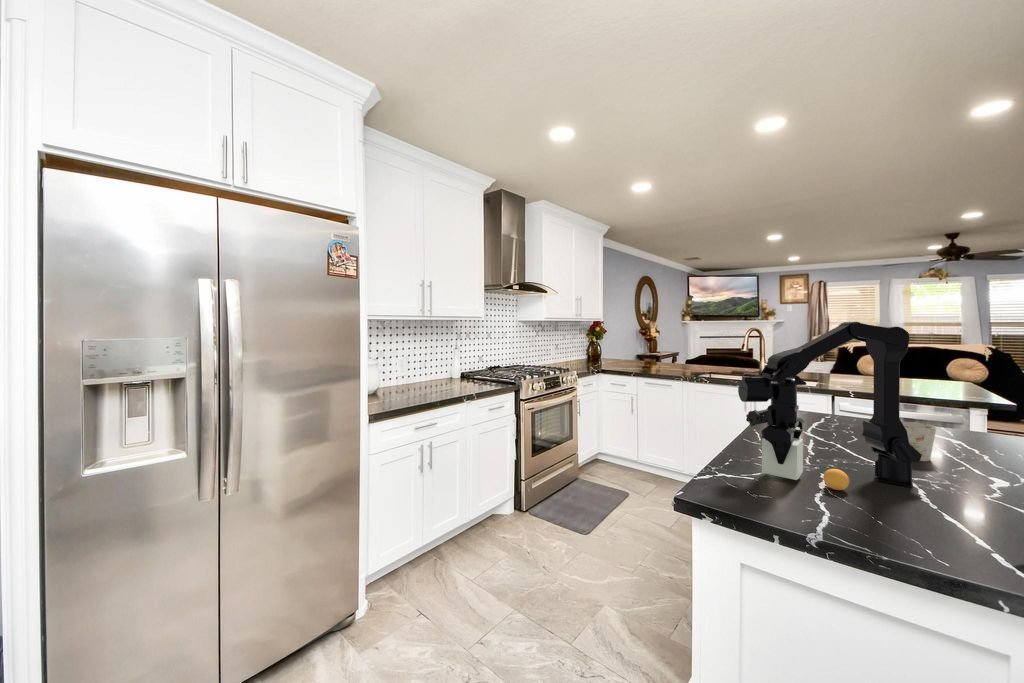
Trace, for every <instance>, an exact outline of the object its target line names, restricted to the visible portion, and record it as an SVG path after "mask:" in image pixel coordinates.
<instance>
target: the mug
mask: <svg viewBox="0 0 1024 683" xmlns="http://www.w3.org/2000/svg"><path fill="white" fill-rule="evenodd" d="M901 422H902V423H903V425H904V427H905V428H906V430H907V434H908V439H909V444H910V445H911V446H912V447H914V448H915V449H916V450H917V451H918V452H919V453H921V454H922V456H921V459H920V461H919V462H929V461H931V457H932V451H933V446H934V442H935V437H936V436H935V435H936V432H937V431H936V430H937V427H936V426H935V425H933V424H929V423H923V422H914V421H901Z"/></svg>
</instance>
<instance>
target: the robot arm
mask: <svg viewBox="0 0 1024 683" xmlns="http://www.w3.org/2000/svg"><path fill="white" fill-rule="evenodd" d="M852 340H856V341H859V342H863V343H865V347H866V351H867V352H868V354H869V357H870V358H871V360H872V361H873V414H872V416H871V418H870V419H869V421H866V420H863V421H862V427H863V428H862V429H863V431H862V434H861V436H862V437H864V441H865V443H867V444H868V445H869V446H870V449H871V451H872V453H876V454H877V458H875V459H874V460H875V461H874V476H875V477H877V478H876V481H877V482H881V483H888V484H894V485H899V486H904V487H910V488H913V487H914V486H913V485H914V482H913V480H914V479H913V464H915V463H920V462H921V461H920V459H921V456H922V454H921V453H919V452H918V451H917V450H916V449H915V448H914V447H912V446H911V445H910V444H909V439H908V434H907V430H906V428H905V427H904V425H903V423H902V422H903V421H902V420H901V417H900V407H901V406H900V405H901V403H900V398H901V397H900V388H901V387H900V385H901V384H900V377H901V375H900V372H901V370H900V369H901V368H900V364H901V360H902V359H903V358H904V357H905V355H906V354H907V352H908V349H909V344H910V340H911V338H910V333H909V332H908V331H907V330H906V329H905V328H903V327H902V326H878V325H873V324H866V323H862V322H860V321H844V322H842V323H840V324H839V325H837V326H836V327H834V328H832V329H831V330H829V331H827V332H825V333H823V334H821V335H819V336H817V337H816V338H813V339H812V340H810V341H807V342H806V343H804V344H802V345H800V346H798V347H795V348H792V349H787V350H784V351H781V352H777V353H773V354H772V355H770V356H769V357H768V359H767V363H766V365H765V367H764V368H763V369H762V370H761V371H760V373H759V374H758V376H748V375H746V376H745V375H742V376H741V381H740V382H739V384H738V386H737V387H738V388H737V389H738V390H737V391H738V396H739V400H740V401H741V402H743V403H749V402H750V403H761V402H762V403H763V402H764V403H767V402H768V401H769V400H770V404H769V405H768V406H767V409H761V410H757V409H754V410H750V411H748V413H747V414H746V416H745V417H746V420H745V421H746V422H748V424H749V426H750V427H755V426H756V425H762V424H766V423H767V424H766V425H767V426H766V427H765V428H762V430H761V438H762V439H765V440H767V441H769V442H770V443H771V444H772V446H773V449H774V452H775V455H776V458H777V462H778V464H784V461H785V459H786V457H787V455H788V453H789V450H790V448H791V446H792V444H793V441H794V440H793V438H798V439H801V438H800V437H801V436H802V433H803V432H804V431H803V430H804V429H805V426H806V425H805V424H806V423H805V420H804V419H802V417H798V410H799V408H800V405H799V404H798V396H797V395H798V386H806V385H807V382H806V381H804V380H803V379H802V378H801V377H800V376H799V374H801V372H803V371H804V370H805V369H807V368H808V367H809V365H810V364H811V363H812V362H813V361H814V360H816V359H818V358H819V357H821V356H823V355H825V354H827V353H829V352H831V351H833V350H835V349H836V348H839V347H841V346H842V345H844V344H846V343H848V342H850V341H852ZM797 428H799V429H797Z"/></svg>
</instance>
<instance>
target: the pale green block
mask: <svg viewBox="0 0 1024 683" xmlns="http://www.w3.org/2000/svg"><path fill="white" fill-rule="evenodd" d="M793 440H794V441H793V444H792V446H791V448H790V450H789V453H788V455H787V457H786V459H785V461H784V464H778V462H777V458H776V455H775V452H774V449H773V446H772V444H771V443H770V442H769V441H767V440H765V439H764V438H762V439H761V473H762V474H766V475H771V476H776V477H779V478H784V479H789V480H795V481H797V480H799V478H800V476H801V475H802V473H803V472H804V439H803V438H799V439H798V438H793Z"/></svg>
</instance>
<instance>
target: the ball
mask: <svg viewBox="0 0 1024 683" xmlns="http://www.w3.org/2000/svg"><path fill="white" fill-rule="evenodd" d="M822 478H823V483H824V484H825V485H826V486H827V487H829V489H832V490H835V491H843V490H846V489H847V488H848V487H849V485H850V477H849V476H848V475H847V474H846V472H844V471H843V470H841V469H838V468H829V469H827V470H826V471H825V472H824V473H823V476H822Z"/></svg>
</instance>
